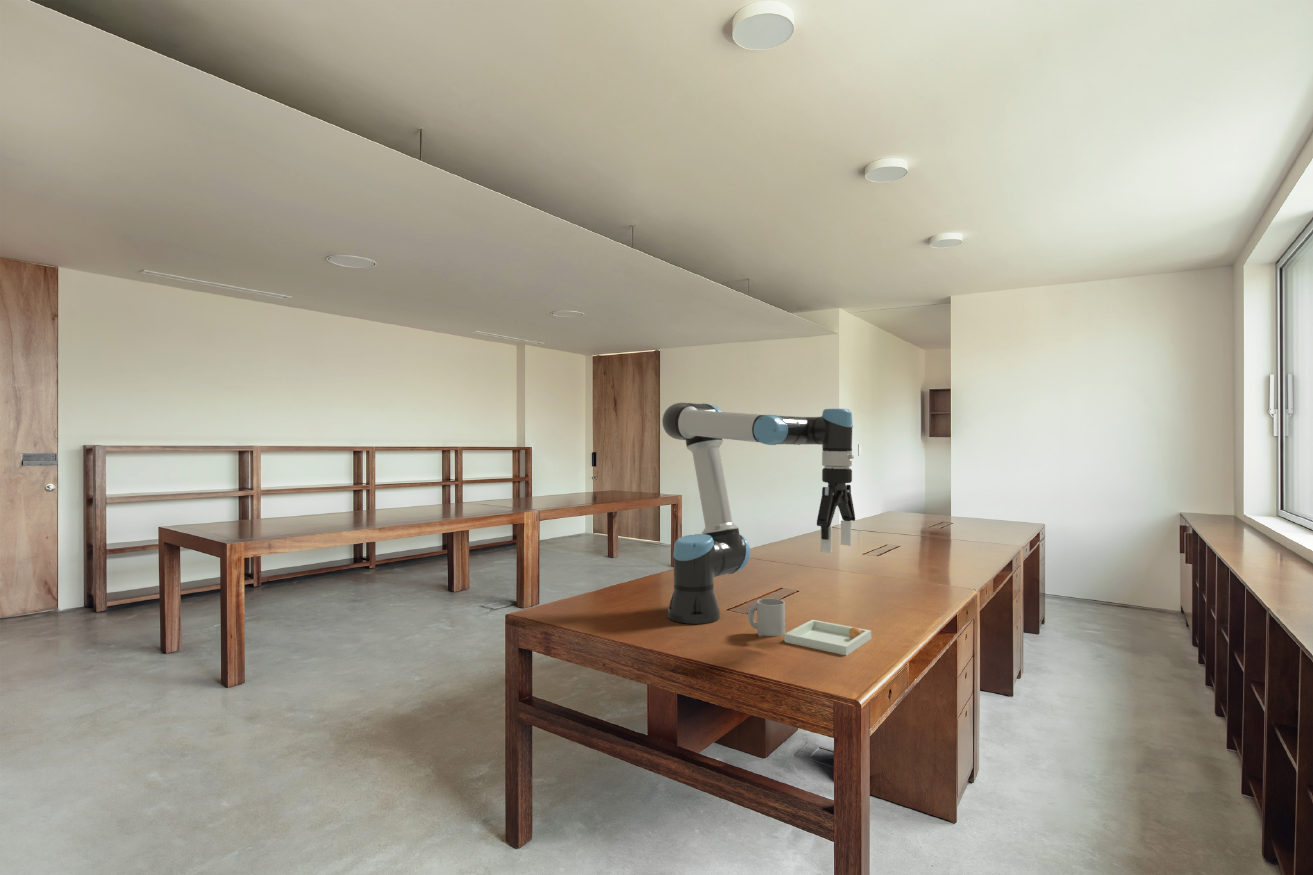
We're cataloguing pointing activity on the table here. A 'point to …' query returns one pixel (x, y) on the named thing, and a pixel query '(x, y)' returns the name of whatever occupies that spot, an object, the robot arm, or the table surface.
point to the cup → (768, 617)
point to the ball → (854, 632)
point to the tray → (827, 637)
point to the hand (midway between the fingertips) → (836, 548)
